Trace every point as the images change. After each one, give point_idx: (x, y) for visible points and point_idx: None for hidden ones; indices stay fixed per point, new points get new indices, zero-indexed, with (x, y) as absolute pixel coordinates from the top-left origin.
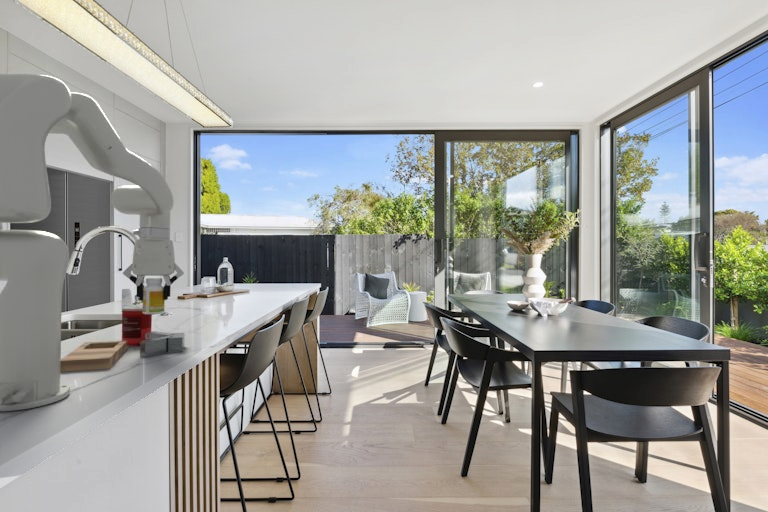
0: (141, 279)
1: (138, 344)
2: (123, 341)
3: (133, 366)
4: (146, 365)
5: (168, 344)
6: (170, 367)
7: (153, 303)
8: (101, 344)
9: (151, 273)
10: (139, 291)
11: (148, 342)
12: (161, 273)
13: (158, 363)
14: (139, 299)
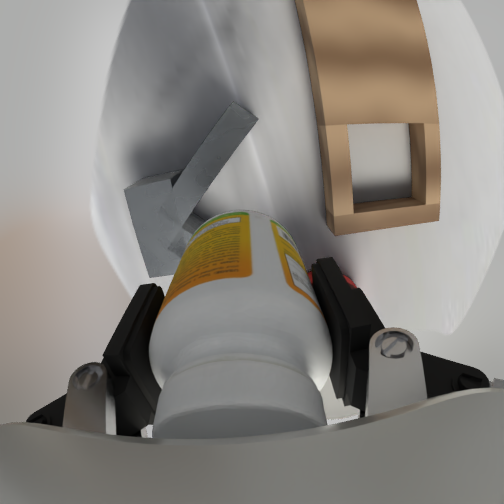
0: (376, 392)
1: (307, 273)
2: (343, 222)
3: (234, 8)
4: (200, 16)
5: (175, 174)
6: (129, 3)
7: (219, 232)
8: (398, 206)
9: (221, 462)
10: (349, 290)
11: (225, 112)
12: (63, 447)
13: (171, 35)
14: (329, 257)
